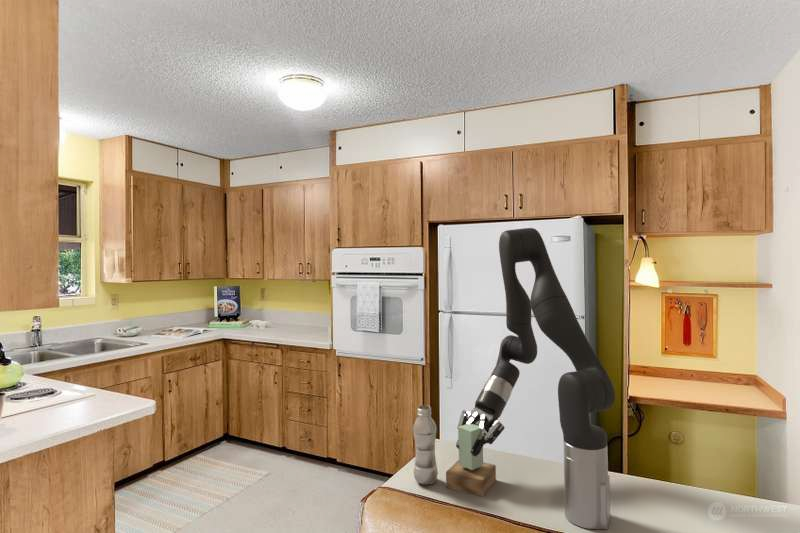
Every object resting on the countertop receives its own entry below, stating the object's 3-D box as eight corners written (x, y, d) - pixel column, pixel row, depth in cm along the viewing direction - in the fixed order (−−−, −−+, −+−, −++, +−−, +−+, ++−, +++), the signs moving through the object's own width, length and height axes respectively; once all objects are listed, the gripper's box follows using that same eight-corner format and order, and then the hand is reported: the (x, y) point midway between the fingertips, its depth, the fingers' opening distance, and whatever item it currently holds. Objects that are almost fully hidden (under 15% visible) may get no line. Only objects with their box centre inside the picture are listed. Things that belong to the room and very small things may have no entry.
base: (495, 479, 121) (495, 464, 121) (482, 496, 113) (482, 480, 113) (461, 471, 126) (461, 457, 126) (446, 487, 118) (445, 471, 118)
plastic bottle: (438, 476, 124) (436, 403, 124) (437, 488, 117) (436, 411, 117) (414, 475, 124) (413, 403, 125) (413, 487, 118) (411, 411, 118)
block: (470, 459, 123) (469, 423, 123) (483, 465, 119) (482, 427, 119) (459, 464, 120) (458, 427, 120) (471, 470, 116) (470, 431, 116)
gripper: (468, 383, 130) (439, 436, 122) (509, 394, 119) (479, 452, 111) (481, 398, 133) (453, 450, 125) (521, 409, 122) (494, 467, 114)
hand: (466, 451), depth 118 cm, fingers closed on block, 4 cm apart
